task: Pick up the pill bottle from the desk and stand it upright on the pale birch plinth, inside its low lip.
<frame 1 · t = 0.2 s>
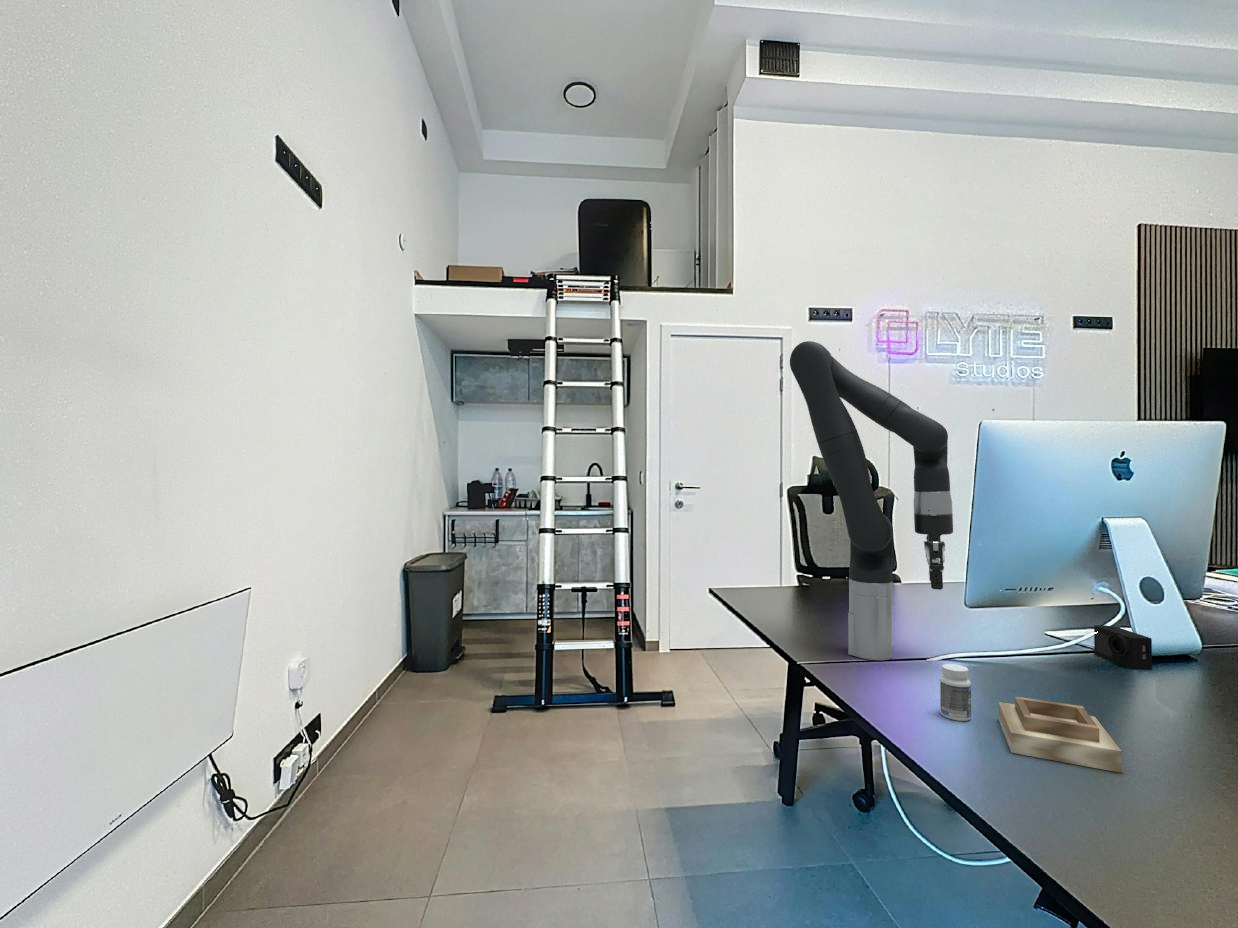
hand: (936, 585, 128), 17 cm above the table, tool pointing down, fingers open, 8 cm apart
digital camera: (1118, 663, 130), on the table
wooden base: (1054, 743, 90), on the table
pill bottle: (955, 716, 100), on the table
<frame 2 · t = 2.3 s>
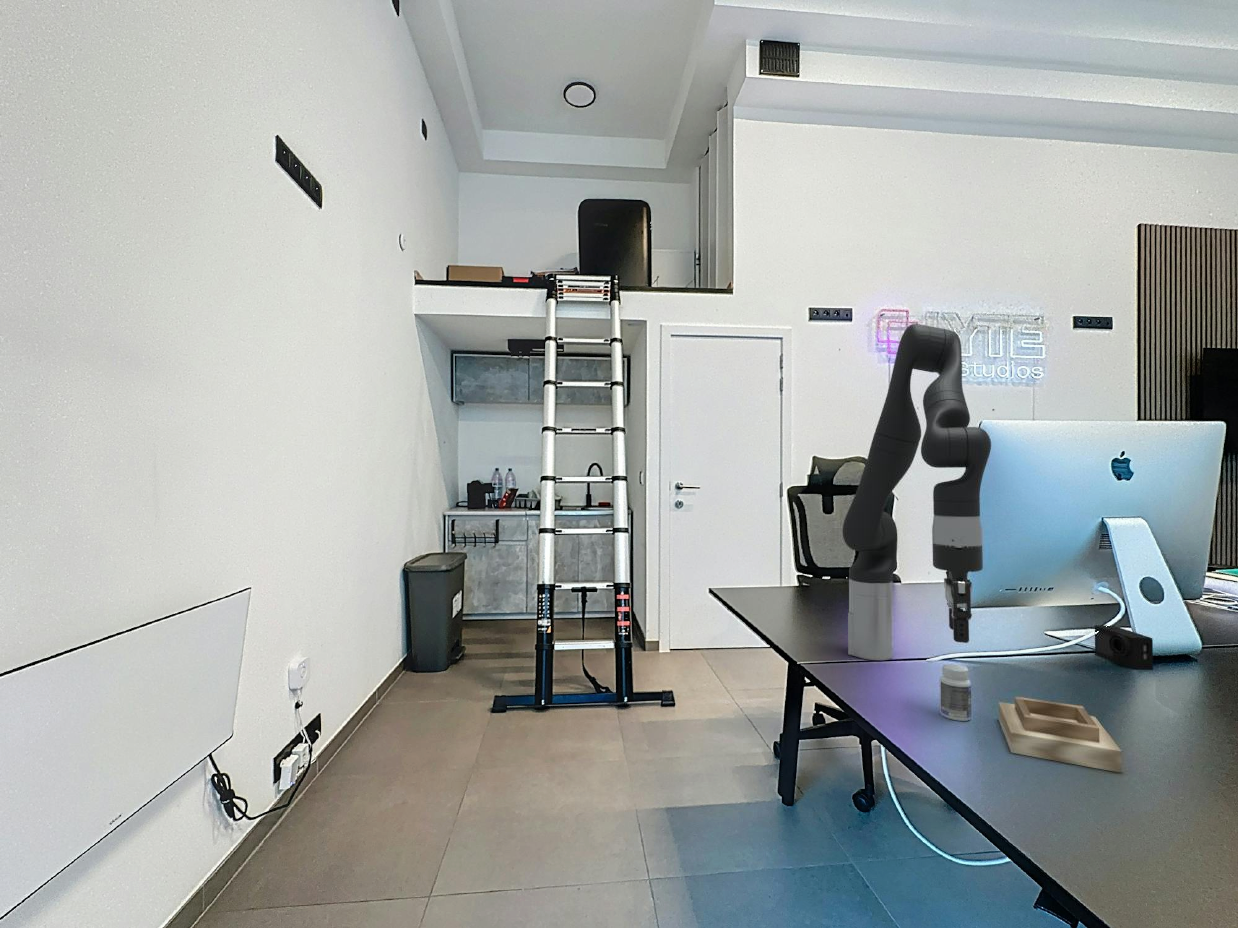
hand: (958, 635, 100), 14 cm above the table, tool pointing down, fingers open, 8 cm apart
nothing on the table moved.
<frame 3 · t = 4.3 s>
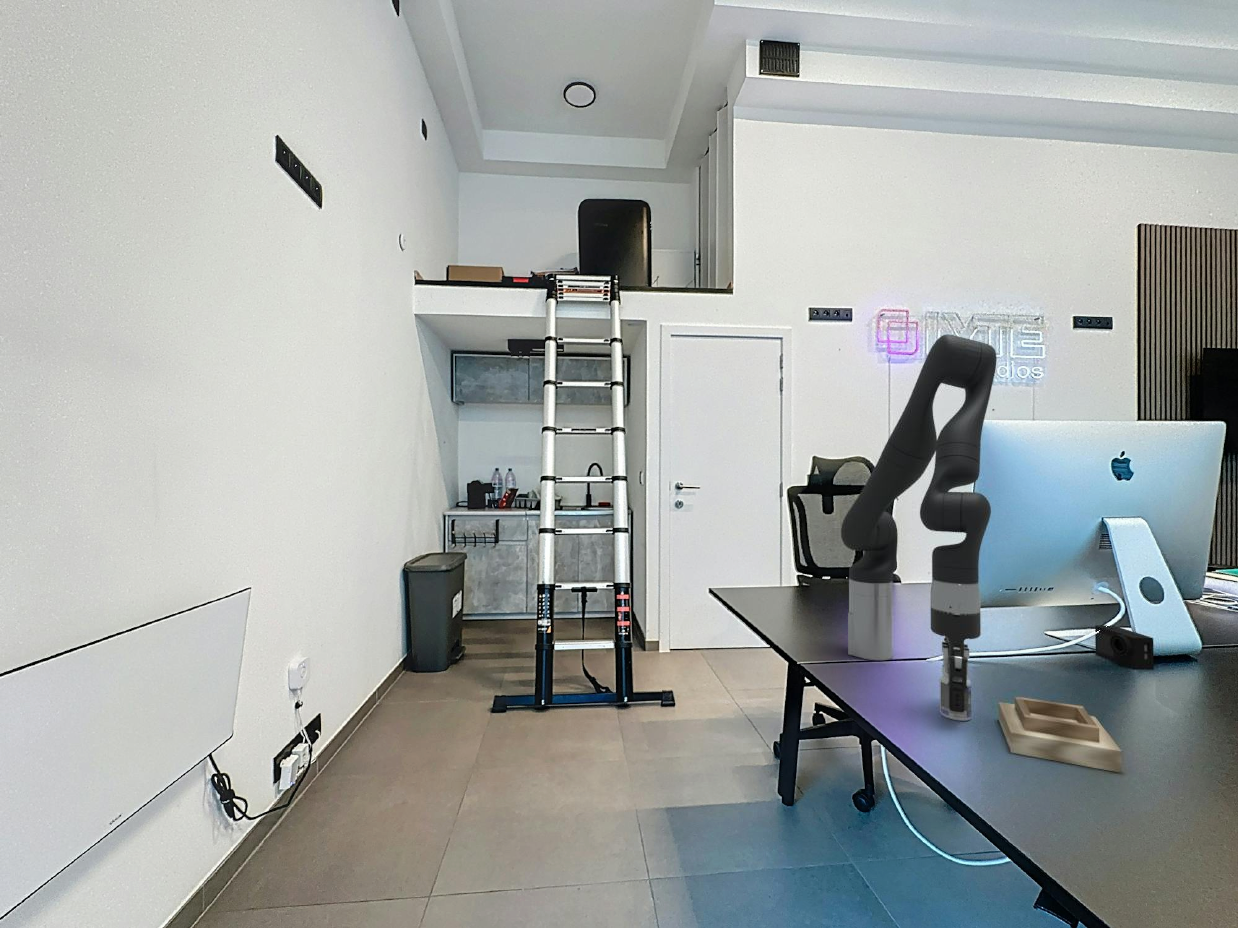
hand: (955, 704, 100), 2 cm above the table, tool pointing down, fingers closed on pill bottle, 4 cm apart
pill bottle: (955, 716, 100), on the table, touching gripper
everything else where it was.
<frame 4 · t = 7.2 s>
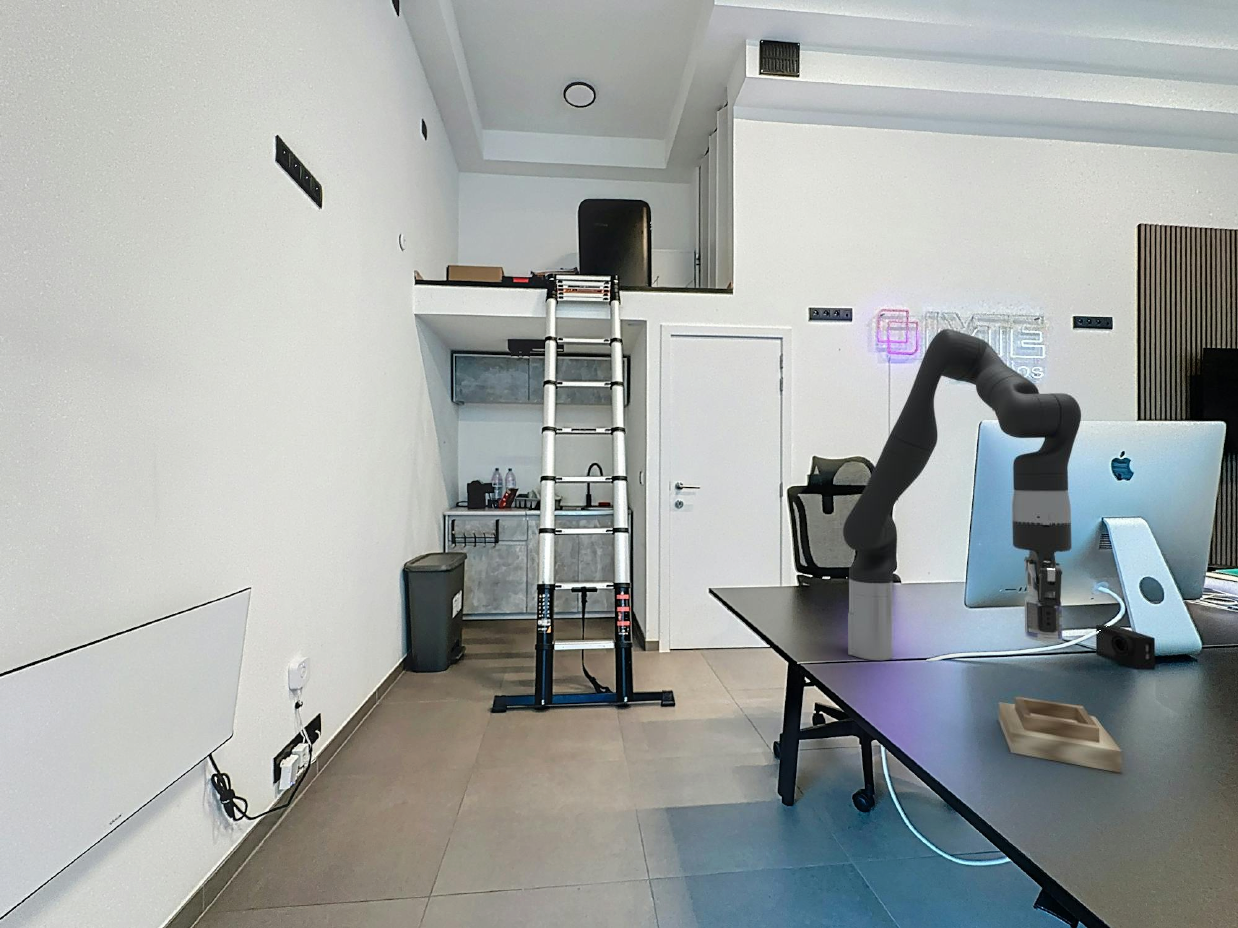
hand: (1043, 626, 91), 18 cm above the table, tool pointing down, fingers closed on pill bottle, 4 cm apart
pill bottle: (1043, 640, 91), point 16 cm above the table, touching gripper
everything else where it was.
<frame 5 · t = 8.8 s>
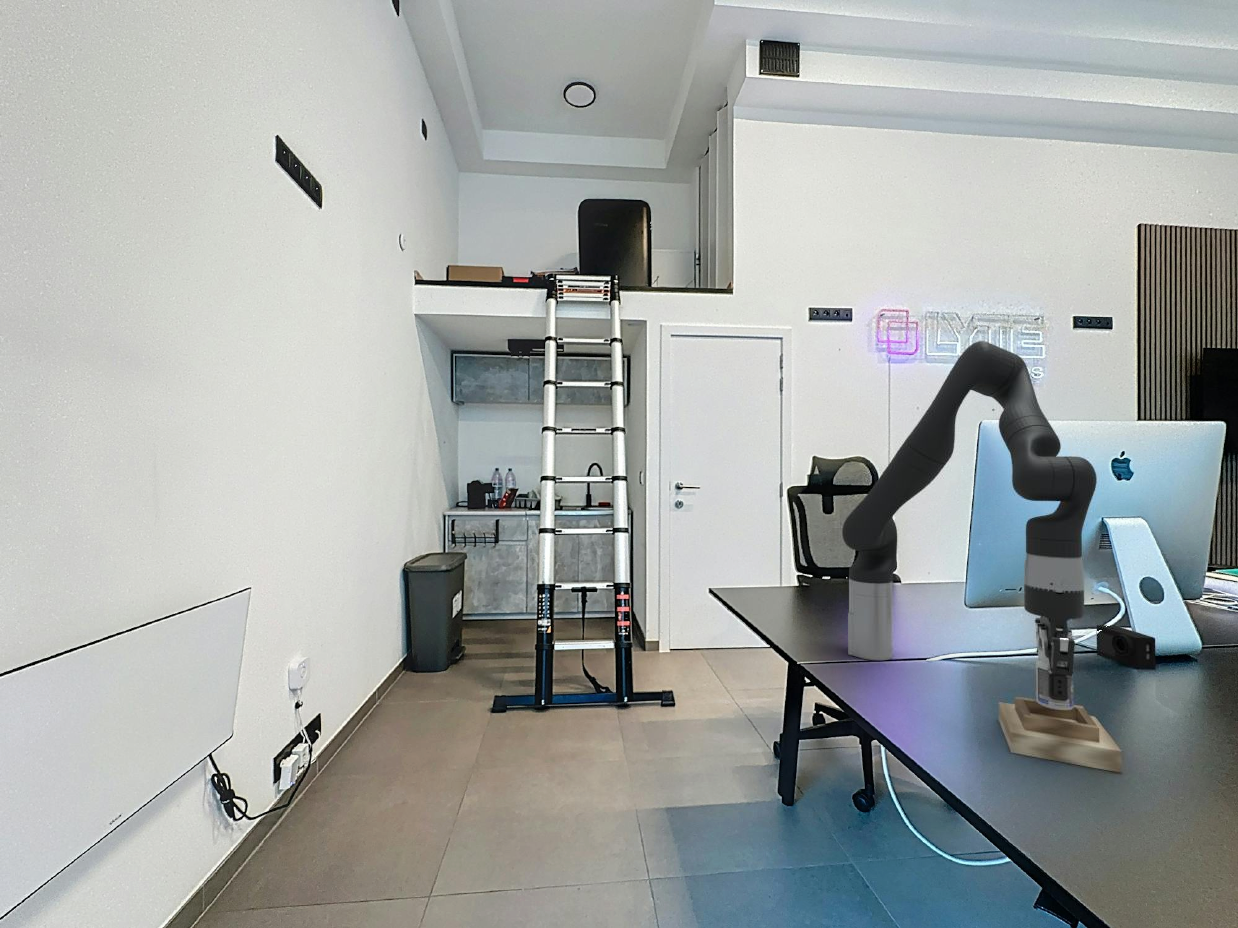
hand: (1053, 692, 90), 8 cm above the table, tool pointing down, fingers closed on pill bottle, 4 cm apart
pill bottle: (1054, 706, 90), point 6 cm above the table, touching gripper
everything else where it was.
when the fingers open (5 cm above the table, at t = 10.2 s): pill bottle stays where it is, resting on wooden base.
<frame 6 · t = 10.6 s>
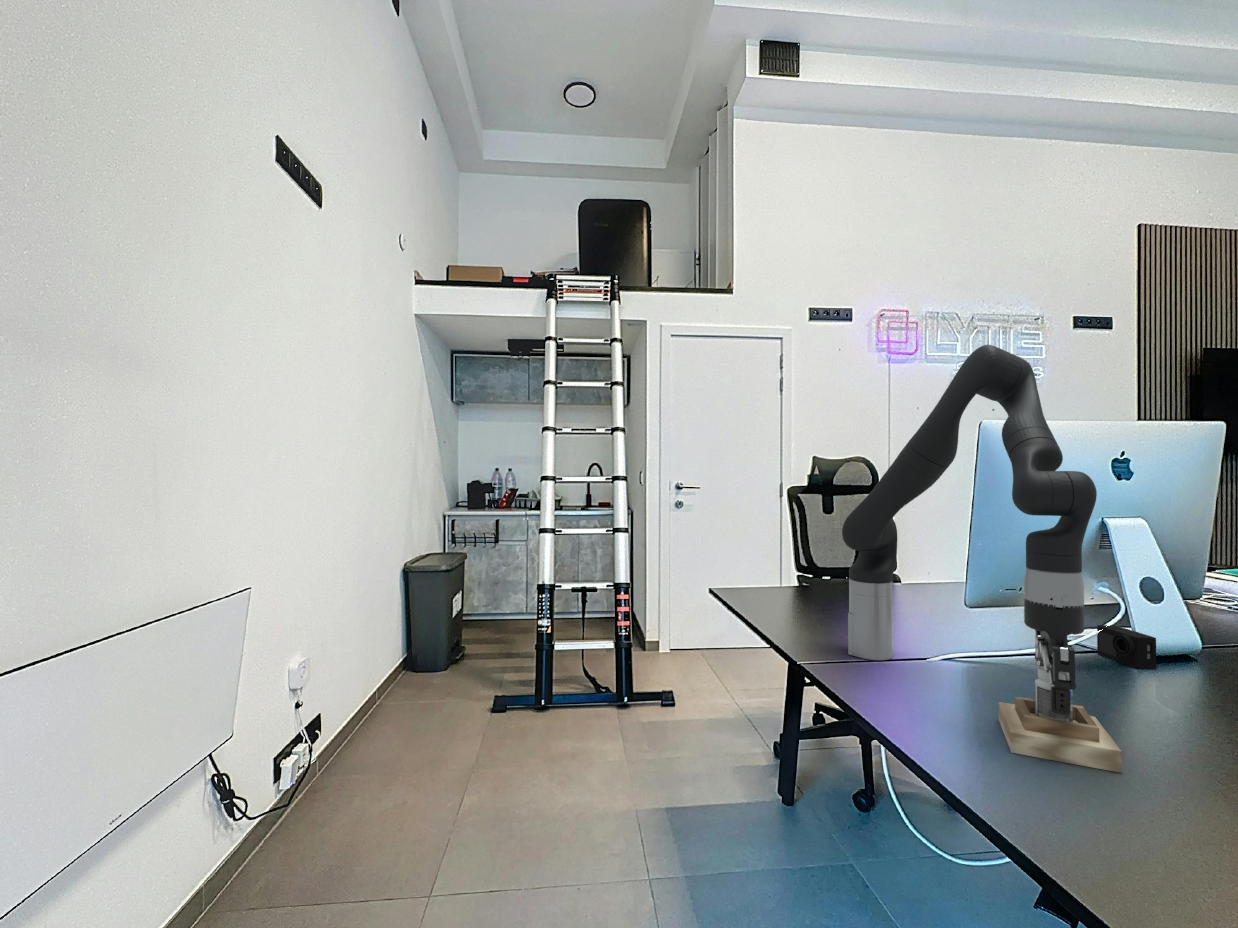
hand: (1054, 703, 90), 6 cm above the table, tool pointing down, fingers open, 8 cm apart
pill bottle: (1053, 725, 90), point 3 cm above the table, touching wooden base
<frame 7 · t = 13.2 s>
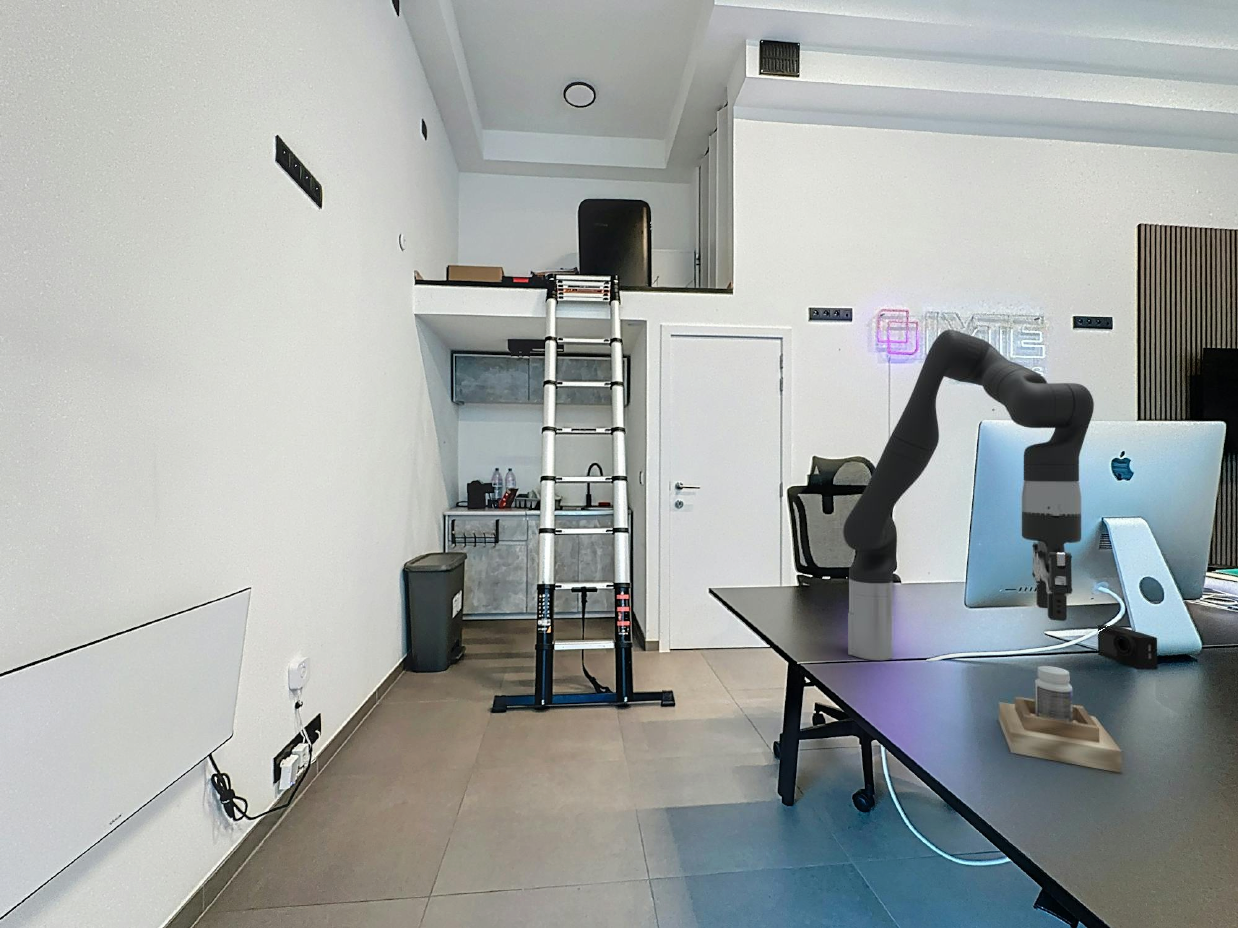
hand: (1050, 613, 91), 20 cm above the table, tool pointing down, fingers open, 8 cm apart
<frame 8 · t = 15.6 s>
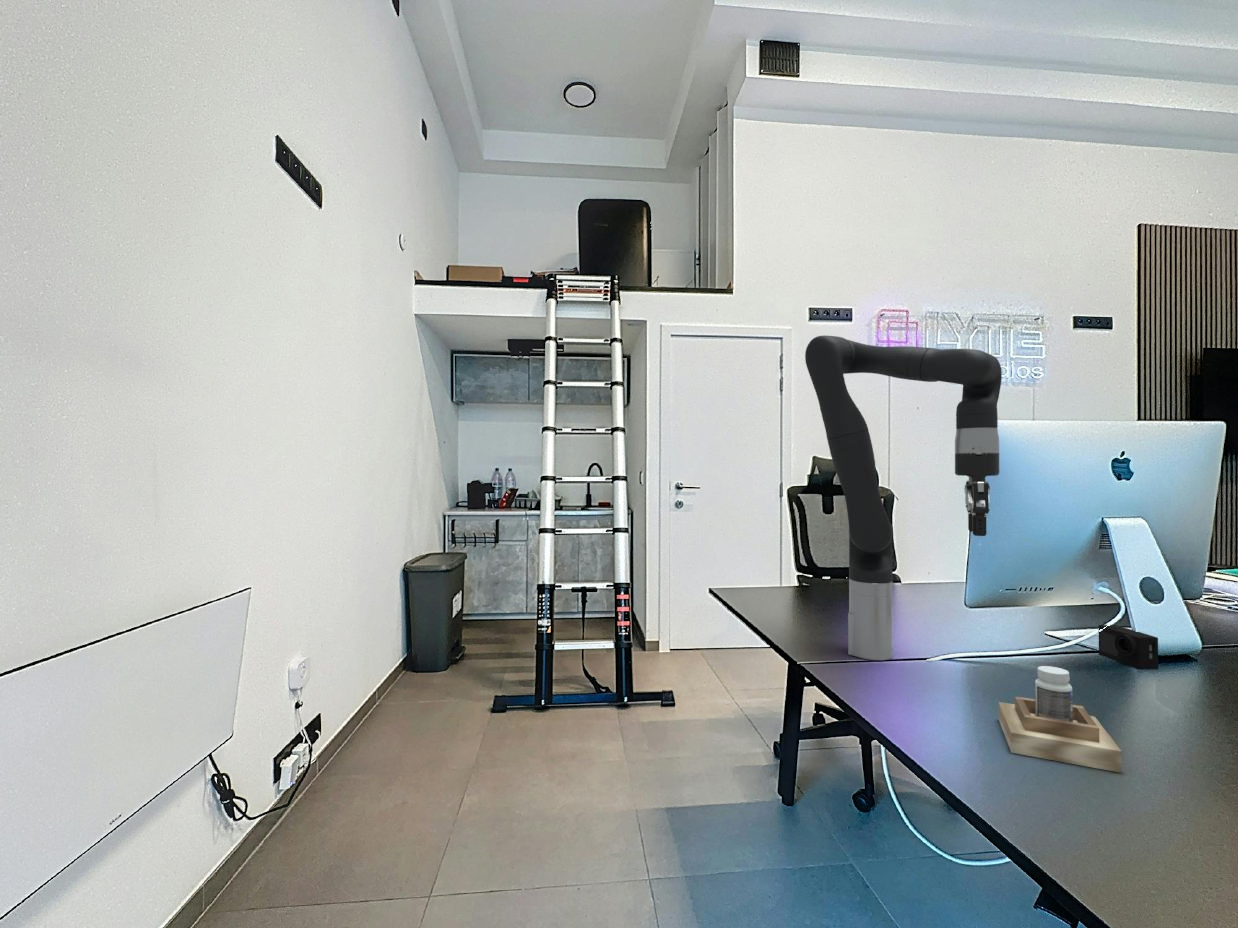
hand: (977, 533, 115), 30 cm above the table, tool pointing down, fingers open, 8 cm apart
at the end: pill bottle 0.1 cm off-centre on the wooden base, point 2.8 cm above the wooden base's base; pill bottle tilted 0°; the gripper is holding nothing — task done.
